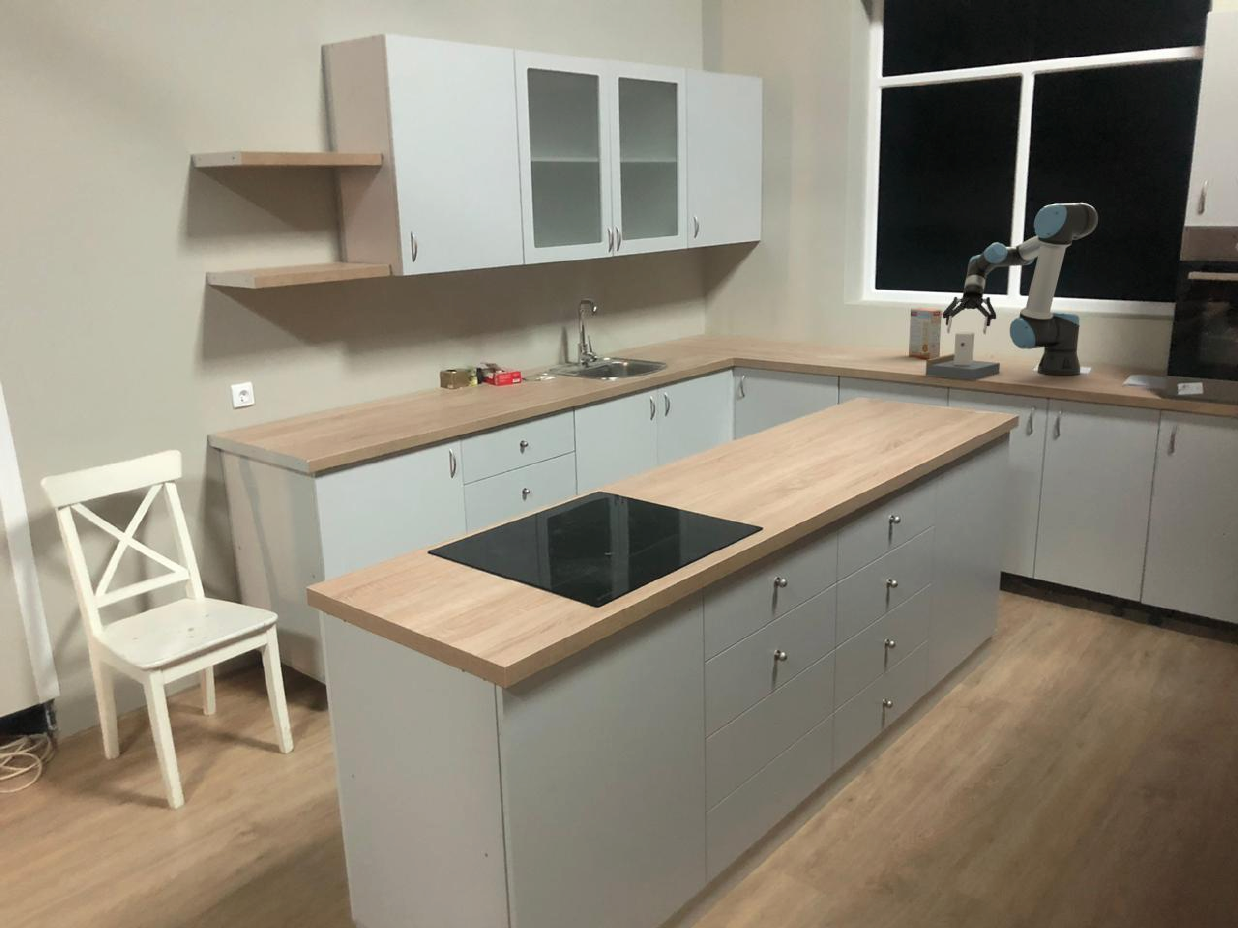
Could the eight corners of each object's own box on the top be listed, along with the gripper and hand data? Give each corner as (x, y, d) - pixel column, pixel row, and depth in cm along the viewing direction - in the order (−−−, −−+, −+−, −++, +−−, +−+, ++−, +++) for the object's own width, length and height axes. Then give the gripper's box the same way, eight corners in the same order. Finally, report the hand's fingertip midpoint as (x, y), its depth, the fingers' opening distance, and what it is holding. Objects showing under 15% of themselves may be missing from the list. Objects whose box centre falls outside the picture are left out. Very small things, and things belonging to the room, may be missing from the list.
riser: (999, 373, 383) (1000, 357, 382) (973, 380, 370) (974, 364, 369) (952, 368, 398) (953, 353, 396) (925, 374, 385) (926, 359, 383)
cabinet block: (972, 363, 384) (974, 332, 381) (969, 365, 378) (971, 334, 375) (956, 362, 387) (958, 332, 384) (953, 365, 381) (954, 334, 378)
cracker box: (940, 358, 423) (942, 310, 418) (929, 359, 421) (931, 310, 416) (919, 354, 436) (921, 307, 431) (908, 355, 434) (910, 308, 429)
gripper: (1007, 295, 392) (1000, 338, 383) (942, 295, 403) (934, 336, 394) (1006, 283, 386) (999, 326, 377) (941, 283, 397) (932, 324, 388)
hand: (966, 331), depth 386 cm, fingers open, 13 cm apart
